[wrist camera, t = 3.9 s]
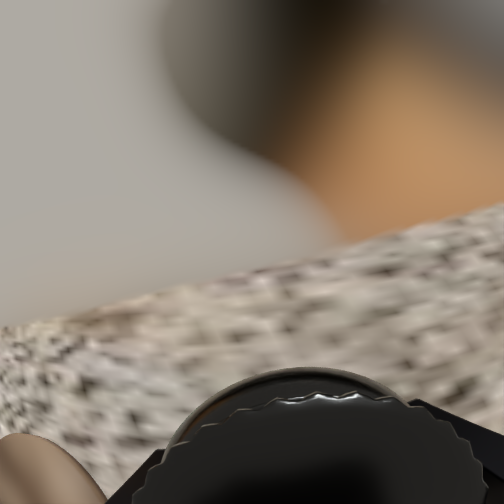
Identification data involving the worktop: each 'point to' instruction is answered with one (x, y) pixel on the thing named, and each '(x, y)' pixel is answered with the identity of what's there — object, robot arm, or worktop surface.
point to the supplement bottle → (313, 447)
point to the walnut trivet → (43, 474)
